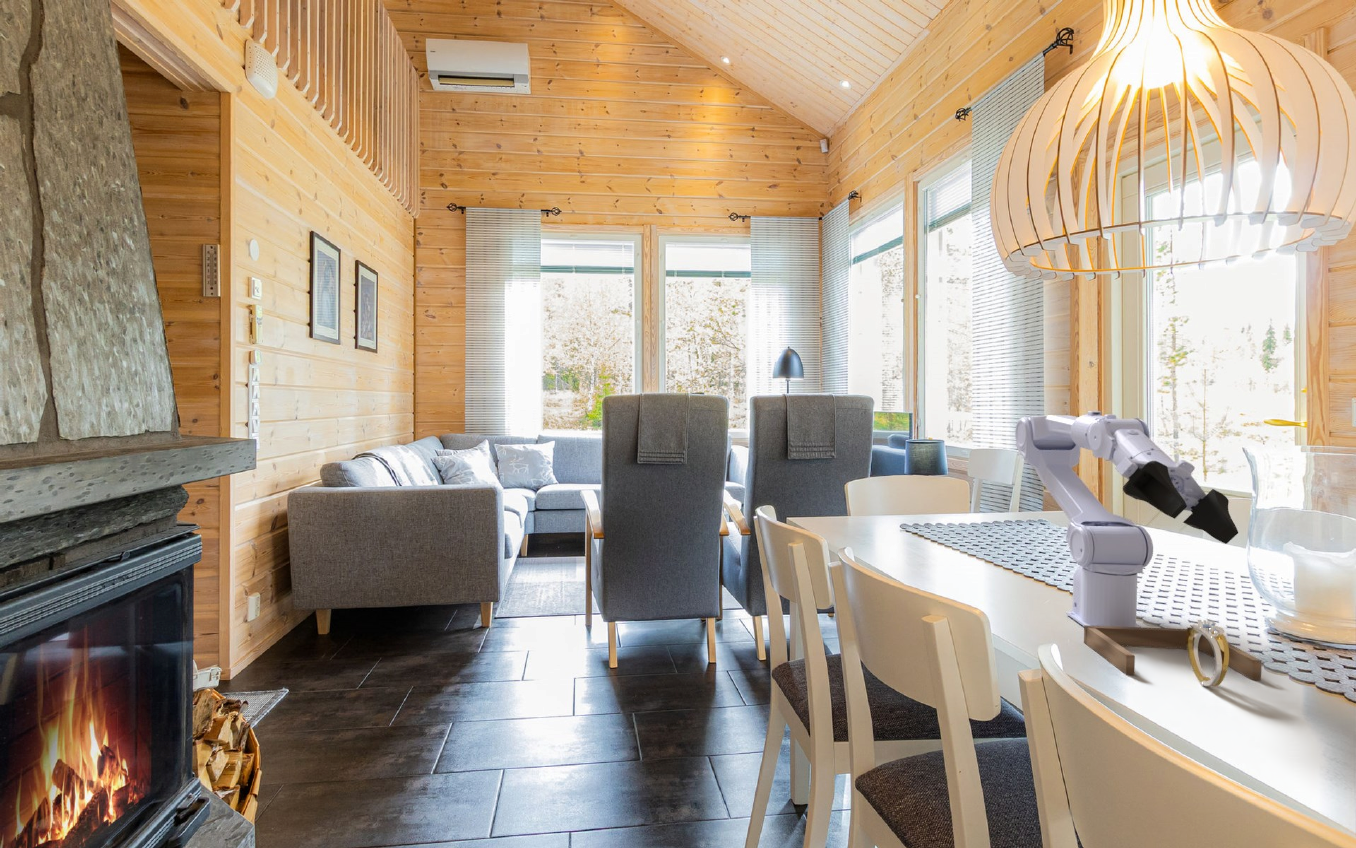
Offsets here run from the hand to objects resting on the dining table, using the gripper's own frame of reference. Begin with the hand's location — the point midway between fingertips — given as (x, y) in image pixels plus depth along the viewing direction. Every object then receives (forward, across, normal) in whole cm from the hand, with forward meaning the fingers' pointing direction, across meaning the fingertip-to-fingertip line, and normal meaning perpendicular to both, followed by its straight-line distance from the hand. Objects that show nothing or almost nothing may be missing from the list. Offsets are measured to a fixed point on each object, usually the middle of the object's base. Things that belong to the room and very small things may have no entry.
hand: (1204, 524), depth 85 cm
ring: (+8, +9, +16) cm, 20 cm away
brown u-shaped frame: (0, +11, +19) cm, 22 cm away
